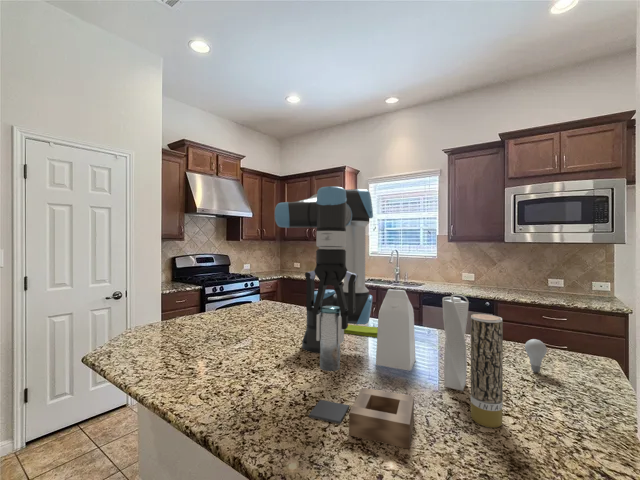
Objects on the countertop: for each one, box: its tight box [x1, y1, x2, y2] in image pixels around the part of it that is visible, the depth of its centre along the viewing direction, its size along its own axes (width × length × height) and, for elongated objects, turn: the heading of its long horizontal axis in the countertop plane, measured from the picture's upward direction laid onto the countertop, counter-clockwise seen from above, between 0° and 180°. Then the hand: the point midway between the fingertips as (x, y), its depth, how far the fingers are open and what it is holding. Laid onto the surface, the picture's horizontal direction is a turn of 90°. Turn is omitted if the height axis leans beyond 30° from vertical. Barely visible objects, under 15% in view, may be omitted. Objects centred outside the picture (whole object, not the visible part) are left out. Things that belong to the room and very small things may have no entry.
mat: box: [308, 399, 350, 425], centre depth 79 cm, size 8×8×1 cm
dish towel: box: [344, 324, 378, 339], centre depth 155 cm, size 15×36×3 cm, turn 67°
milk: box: [375, 289, 417, 372], centre depth 113 cm, size 12×12×26 cm
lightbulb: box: [524, 338, 548, 373], centre depth 105 cm, size 6×6×11 cm
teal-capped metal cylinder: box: [319, 306, 341, 372], centre depth 79 cm, size 5×5×15 cm
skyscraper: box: [442, 293, 470, 392], centre depth 95 cm, size 8×8×28 cm
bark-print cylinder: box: [470, 313, 504, 429], centre depth 76 cm, size 7×7×25 cm
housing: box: [348, 387, 415, 450], centre depth 73 cm, size 13×13×5 cm
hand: (330, 340), depth 79 cm, fingers closed on teal-capped metal cylinder, 5 cm apart
